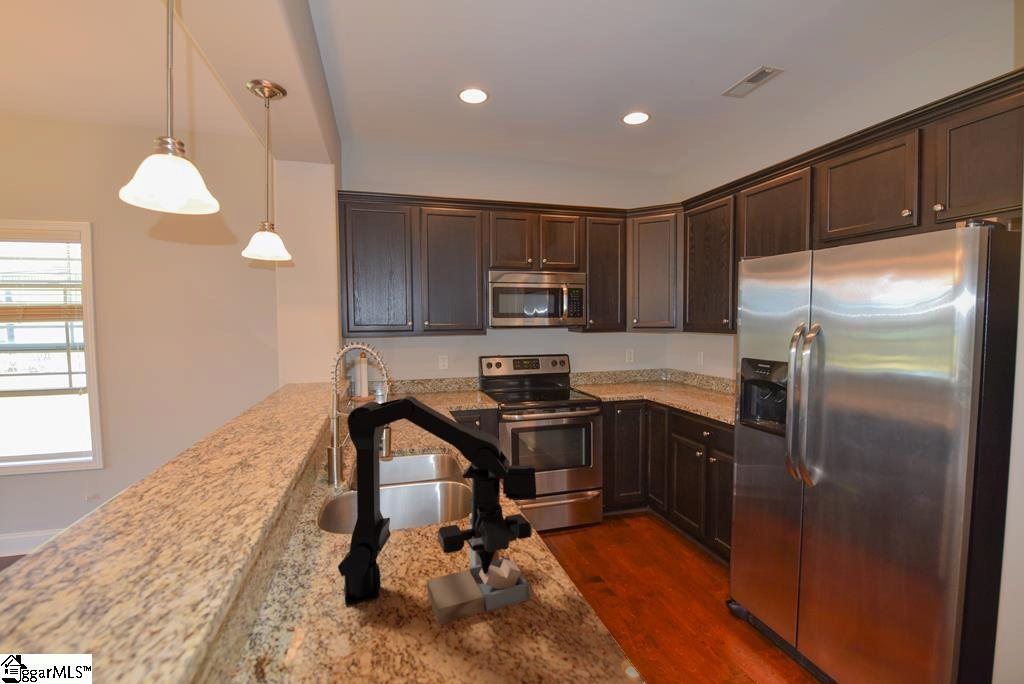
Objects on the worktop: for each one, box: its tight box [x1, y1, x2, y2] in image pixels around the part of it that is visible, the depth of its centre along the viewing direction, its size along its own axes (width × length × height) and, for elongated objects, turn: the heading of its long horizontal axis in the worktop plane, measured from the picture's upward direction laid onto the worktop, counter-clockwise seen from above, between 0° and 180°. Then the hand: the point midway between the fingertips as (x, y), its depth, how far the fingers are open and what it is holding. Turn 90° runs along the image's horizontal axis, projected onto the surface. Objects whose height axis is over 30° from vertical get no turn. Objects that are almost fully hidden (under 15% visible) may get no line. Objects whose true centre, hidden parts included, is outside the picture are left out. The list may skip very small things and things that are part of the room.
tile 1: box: [479, 565, 507, 590], centre depth 90 cm, size 4×4×2 cm
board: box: [426, 568, 485, 626], centre depth 87 cm, size 9×10×3 cm
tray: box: [468, 557, 530, 613], centre depth 90 cm, size 9×11×3 cm
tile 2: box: [500, 558, 522, 588], centre depth 91 cm, size 4×4×2 cm
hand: (484, 572), depth 89 cm, fingers closed
